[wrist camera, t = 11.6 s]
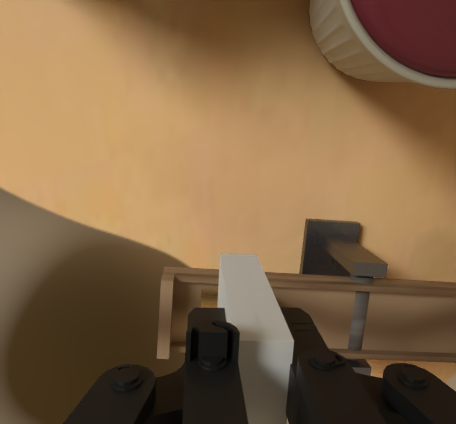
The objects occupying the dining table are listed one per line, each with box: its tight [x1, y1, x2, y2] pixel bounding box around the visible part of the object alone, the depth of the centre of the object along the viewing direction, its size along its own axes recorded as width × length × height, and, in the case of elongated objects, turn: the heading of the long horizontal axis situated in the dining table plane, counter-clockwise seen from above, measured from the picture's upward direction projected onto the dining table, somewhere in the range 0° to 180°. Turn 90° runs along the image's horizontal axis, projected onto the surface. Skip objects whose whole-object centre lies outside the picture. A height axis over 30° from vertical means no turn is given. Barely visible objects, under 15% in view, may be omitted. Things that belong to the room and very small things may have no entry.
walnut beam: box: [157, 267, 456, 363], centre depth 36 cm, size 8×36×6 cm, turn 86°
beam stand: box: [299, 219, 388, 376], centre depth 43 cm, size 14×6×12 cm, turn 176°
